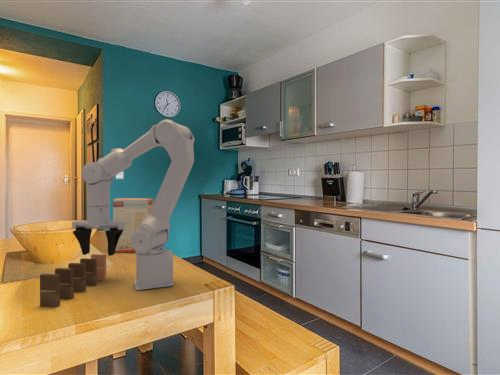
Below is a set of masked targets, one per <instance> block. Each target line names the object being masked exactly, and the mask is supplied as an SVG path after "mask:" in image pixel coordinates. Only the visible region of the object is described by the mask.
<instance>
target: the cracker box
mask: <svg viewBox="0 0 500 375" xmlns="http://www.w3.org/2000/svg"><path fill="white" fill-rule="evenodd" d="M112 200H113V201H112V202H113V203H112V204H113V205H112V213H113V214H112V221H118V222H125V229H123V233H122V234H121V236H120V238H119V240H118V243H117V246H116V250H115V253H132V254H133V253H134V254H136V251H135V250H134V249H133V248H132V245H131V236H132V234H133V233H134V232H135V231H136V230H137V229H138V228H139V226H140V224H141V222H142V221H143V220H144V219H146V218H147V217H148V215H149V214H150V211H151V209H152V206H153V204H154V199H153V198H140V197H139V198H138V197H137V198H134V197H132V198H131V197H130V198H129V197H126V198H125V197H124V198H123V197H121V198H119V197H117V198H114V199H112Z"/></svg>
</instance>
